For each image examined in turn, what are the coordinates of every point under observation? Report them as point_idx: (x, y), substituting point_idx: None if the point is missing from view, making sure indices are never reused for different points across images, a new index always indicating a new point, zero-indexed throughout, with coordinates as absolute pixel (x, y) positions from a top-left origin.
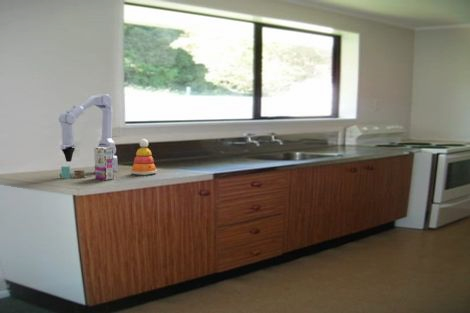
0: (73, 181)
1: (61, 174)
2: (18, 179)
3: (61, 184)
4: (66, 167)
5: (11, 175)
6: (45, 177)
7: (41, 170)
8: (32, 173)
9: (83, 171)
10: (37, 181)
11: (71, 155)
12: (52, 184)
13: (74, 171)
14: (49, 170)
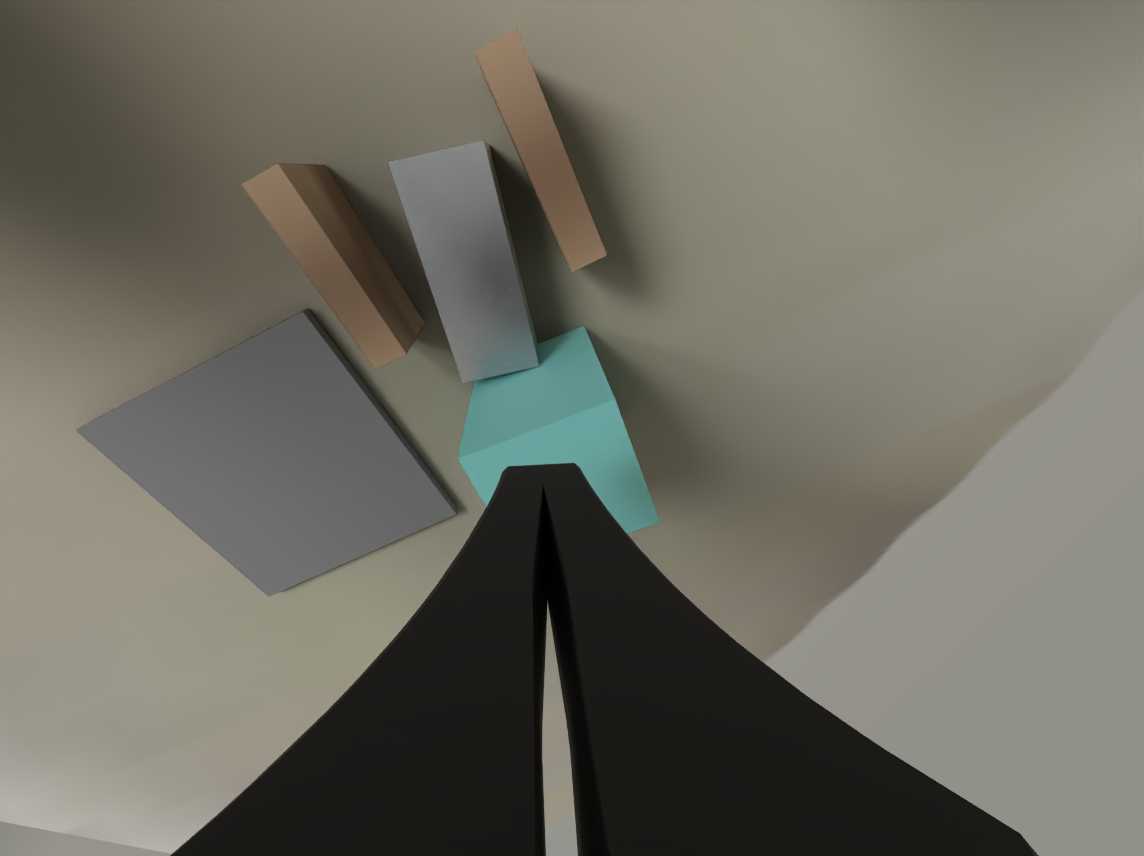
0: (921, 113)
1: (352, 548)
2: None
3: (1137, 200)
4: (631, 444)
5: None
6: None
7: (119, 822)
8: None
9: (294, 173)
10: (800, 569)
11: (536, 575)
12: (1075, 329)
13: (404, 345)
14: (76, 779)
